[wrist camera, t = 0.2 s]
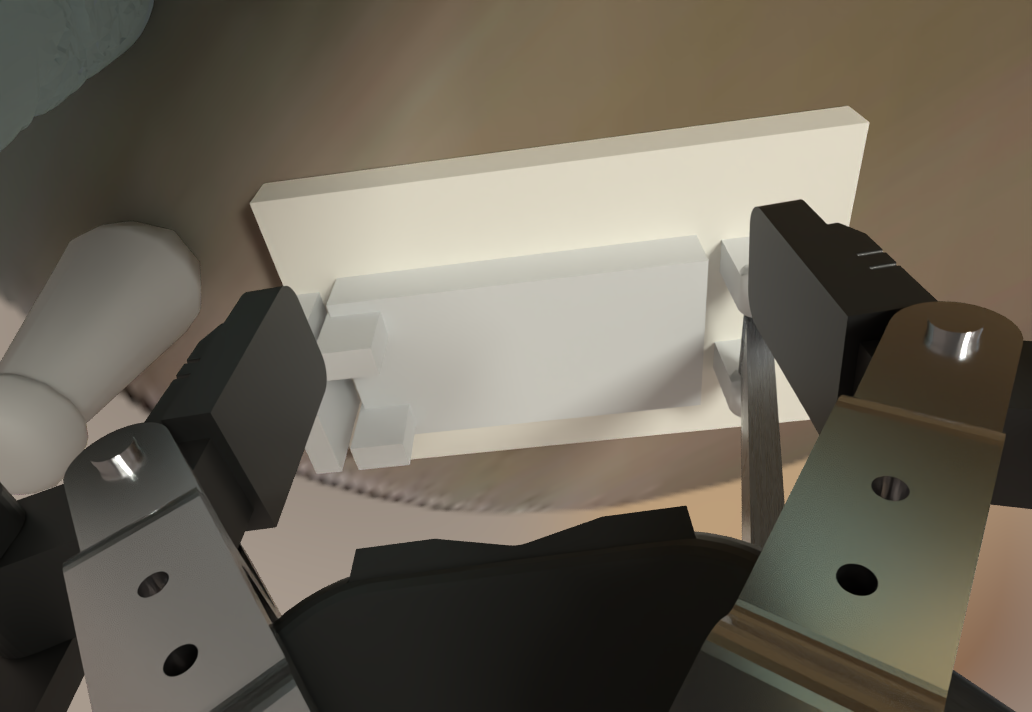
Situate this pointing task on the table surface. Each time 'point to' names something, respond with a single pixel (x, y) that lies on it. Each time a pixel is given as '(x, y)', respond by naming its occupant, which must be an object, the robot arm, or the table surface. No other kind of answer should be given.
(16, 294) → the table surface
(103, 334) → the salt shaker
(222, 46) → the table surface
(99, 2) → the pale green planter pot
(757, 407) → the bar
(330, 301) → the stand
